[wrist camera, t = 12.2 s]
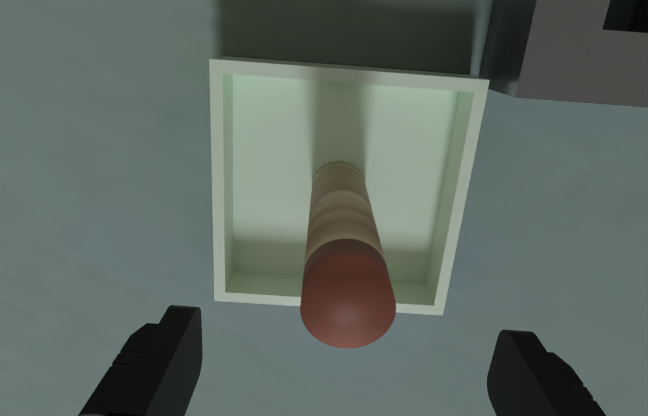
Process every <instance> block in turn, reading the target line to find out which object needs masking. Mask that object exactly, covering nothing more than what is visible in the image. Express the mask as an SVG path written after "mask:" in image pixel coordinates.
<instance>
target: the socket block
mask: <svg viewBox="0 0 648 416" xmlns="http://www.w3.org/2000/svg"><path fill="white" fill-rule="evenodd" d="M609 4H610V0H494V3H493V9H492V14H491V19H490V24H489V30H488V35H487V40H486V45H485V50H484V56H483V61H482V66H481V71H480V77H481V78H484V79H488V80H490V82H489V87H488V89H491V90H494V91H497V92H500V93H503V94H506V95H509V96H512V97H517V98H530V99H544V100H557V101H571V102H584V103H597V104H611V105H624V106H638V107H648V0H637V3H636V7H635V10H634V13H633V17H632V20H631V23H630V27H629V30H628V32H627V31H615V30H602V29H603V25H604V22H605V18H606V14H607V11H608V7H609Z"/></svg>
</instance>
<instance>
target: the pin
mask: <svg viewBox="0 0 648 416" xmlns="http://www.w3.org/2000/svg"><path fill="white" fill-rule="evenodd" d="M300 312H301V317H302V320H303V323H304V325H305V327H306V328H307V330H308V331H309V332H310V333H311V334H312V335H313V336H314V337H315V338H316V339H318V340H319V341H321V342H323V343H325V344H327V345H330V346H334V347H338V348H357V347H361V346H365V345H368V344H370V343H372V342H374V341H376V340H377V339H379V338H380V337H381V336H383V335H384V334H385V333H386V332H387V330H388V329H389V328H390V326H391V324H392V323H393V320H394V317H395V313H396V301H395V296H394V293H393V289H392V285H391V281H390V277H389V273H388V270H387V266H386V262H385V258H384V254H383V250H382V246H381V243H380V239H379V235H378V231H377V227H376V223H375V219H374V216H373V212H372V208H371V204H370V200H369V196H368V193H367V189H366V185H365V181H364V178H363V175H362V174H361V172H360V171H359V170H358V169H357V168H356V167H355V166H353V165H352V164H350V163H347V162H342V161H336V162H331V163H328V164H326V165H324V166H323V167H321V168H320V169H319V170H318V171H317V173H316V174H315V176H314V178H313V182H312V191H311V201H310V212H309V222H308V232H307V242H306V253H305V263H304V273H303V283H302V294H301V304H300Z"/></svg>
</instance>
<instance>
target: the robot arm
mask: <svg viewBox="0 0 648 416" xmlns="http://www.w3.org/2000/svg"><path fill="white" fill-rule="evenodd" d="M201 365H202V326H201V310H200V308H199V307H189V306H175V305H171V306H169V307H168V309H167V311H166V312H165V314H164V316H163V318H162V319H161V321H160V323H159V324H151V323H147V324H145V325H144V326H143V327H141V328H140V329H139V330H137V331H136V332H135V333H133V334H132V335H131V336H130V337H129V339H128V340H127V342H126V343H125V345H124V346H123V348H122V349H121V352H120V354H118V355H117V357H116V358H115V360H114V361H113V363H112V366H110V368H109V369H108V371H107V372H106V374H105V375H104V377H103V378H102V380H101V381H100V383H99V384H98V386H97V388H96V389H95V391H94V392H93V394H92V395H91V397H90V398H89V400H88V401H87V403H86V404H85V406H84V407H83V409H82V410H81V412H80V414H79V415H78V416H184V415H185V413H186V410H187V407H188V405H189V402H190V399H191V397H192V394H193V392H194V389H195V386H196V384H197V381H198V378H199V375H200V371H201ZM487 389H488V395H489V399H490V401H491V403H492V406H493V408H494V410H495V413H496V415H497V416H606V415H605V413H604V412H603V411H602V409H601V408H600V406H599V405H598V404H597V402H596V401H593V397H592V395H591V394H590V392H589V391H588V390H587V388H586V387H584V386H583V383H582V381H581V380H580V378H579V377H578V376H577V374H576V373H575V371H574V370H573V369H572V367H571V366H569V365H568V364H567V363H566V362H564V361H563V360H562V359H561V358H560V357H558V356H557V355H556V354H555V353H550V352H547V351H546V349H545V348H544V346H543V345H542V343H541V342H540V340H539V339H538V338H537V336H536V335H535V334H534V333H533V332H529V331H515V330H502V331H501V332H500V333H499V336H498V339H497V343H496V346H495V350H494V354H493V357H492V361H491V365H490V368H489V372H488V377H487Z"/></svg>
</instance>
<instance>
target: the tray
mask: <svg viewBox="0 0 648 416" xmlns="http://www.w3.org/2000/svg"><path fill="white" fill-rule="evenodd" d="M209 65H210V112H211V159H212V206H213V252H214V299H215V301H226V302H242V303H257V304H273V305H288V306H300V304H301V294H302V283H303V273H304V263H305V253H306V242H307V232H308V222H309V212H310V201H311V191H312V182H313V178H314V176H315V174H316V173H317V171H318V170H319V169H320V168H321V167H323V166H324V165H326V164H328V163H331V162H336V161H342V162H347V163H350V164H352V165H353V166H355V167H356V168H357V169H358V170H359V171H360V172H361V174H362V175H363V178H364V181H365V185H366V189H367V193H368V196H369V200H370V204H371V208H372V212H373V216H374V219H375V223H376V227H377V231H378V235H379V239H380V243H381V246H382V250H383V254H384V258H385V262H386V266H387V270H388V273H389V277H390V281H391V285H392V289H393V293H394V296H395V301H396V312H397V313H413V314H429V315H443V312H444V307H445V302H446V297H447V292H448V287H449V282H450V277H451V272H452V267H453V262H454V257H455V252H456V247H457V242H458V237H459V232H460V227H461V222H462V217H463V212H464V207H465V202H466V197H467V192H468V187H469V182H470V177H471V172H472V167H473V162H474V157H475V152H476V147H477V142H478V137H479V132H480V127H481V122H482V117H483V112H484V107H485V102H486V97H487V92H488V87H489V82H490V80H488V79H484V78H481V77H477V76H473V75H467V74H454V73H441V72H428V71H414V70H401V69H388V68H375V67H361V66H348V65H335V64H322V63H308V62H295V61H282V60H269V59H255V58H242V57H229V56H222V57H217V58H211V59H209Z"/></svg>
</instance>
